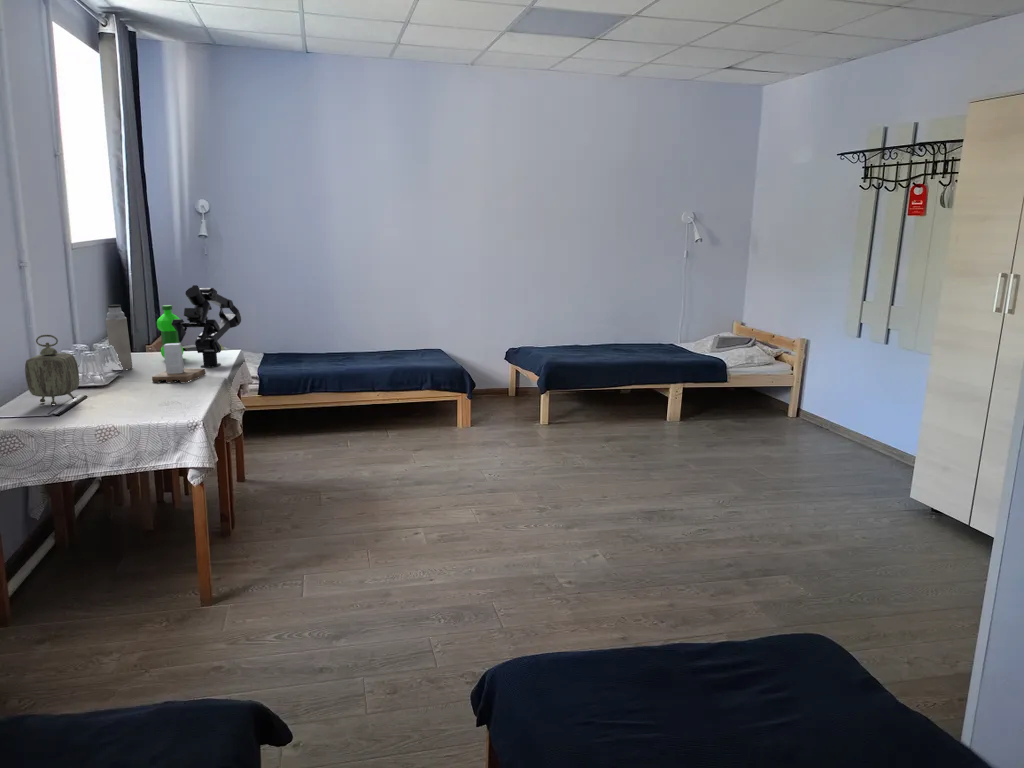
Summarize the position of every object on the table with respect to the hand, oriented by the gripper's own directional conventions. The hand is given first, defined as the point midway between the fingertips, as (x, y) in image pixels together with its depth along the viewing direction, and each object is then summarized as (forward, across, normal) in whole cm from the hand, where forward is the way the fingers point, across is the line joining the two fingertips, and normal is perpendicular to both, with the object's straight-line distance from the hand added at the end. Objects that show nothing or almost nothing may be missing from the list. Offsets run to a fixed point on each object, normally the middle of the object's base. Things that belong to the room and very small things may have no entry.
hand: (190, 341), depth 311 cm
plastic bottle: (-11, -25, +31) cm, 41 cm away
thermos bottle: (+4, -36, +15) cm, 39 cm away
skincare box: (+15, -2, +1) cm, 16 cm away
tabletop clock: (+47, -24, -27) cm, 59 cm away
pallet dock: (+16, -1, +3) cm, 17 cm away
